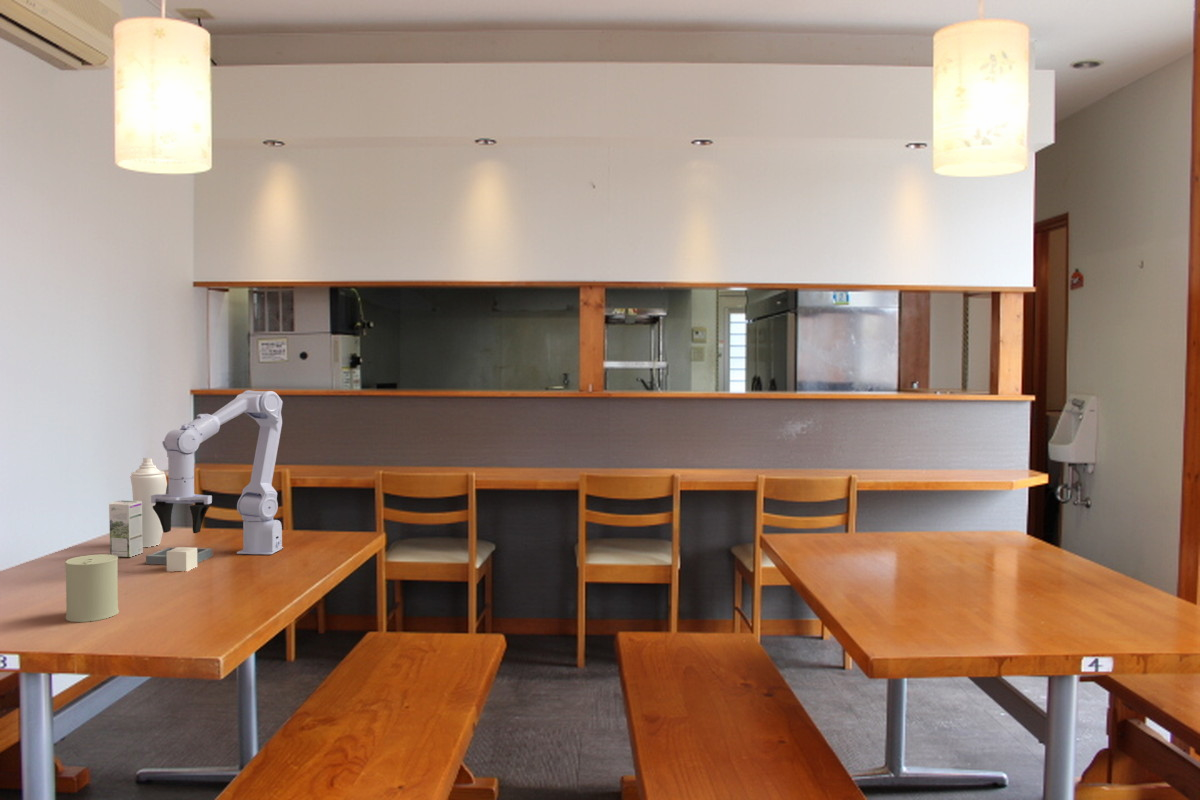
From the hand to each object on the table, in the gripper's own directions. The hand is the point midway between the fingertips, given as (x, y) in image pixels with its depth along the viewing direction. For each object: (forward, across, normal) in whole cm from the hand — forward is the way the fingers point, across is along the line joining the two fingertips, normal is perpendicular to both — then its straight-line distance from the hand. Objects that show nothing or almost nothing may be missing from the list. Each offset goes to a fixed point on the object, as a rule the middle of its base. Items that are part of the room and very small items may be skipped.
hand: (181, 532), depth 205 cm
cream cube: (+9, 0, 0) cm, 9 cm away
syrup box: (+10, -22, +12) cm, 27 cm away
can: (+10, +4, -38) cm, 40 cm away
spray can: (+9, -24, +24) cm, 36 cm away
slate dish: (+9, -6, +8) cm, 14 cm away
